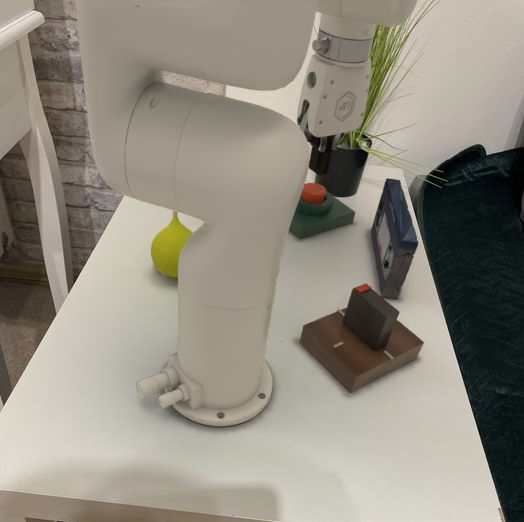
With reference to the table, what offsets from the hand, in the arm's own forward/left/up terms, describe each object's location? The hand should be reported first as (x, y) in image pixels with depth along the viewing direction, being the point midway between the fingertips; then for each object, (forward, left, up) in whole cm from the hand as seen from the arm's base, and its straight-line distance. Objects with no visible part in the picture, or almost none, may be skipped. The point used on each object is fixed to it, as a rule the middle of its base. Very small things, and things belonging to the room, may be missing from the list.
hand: (318, 171), depth 85 cm
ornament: (-28, -4, -9) cm, 30 cm away
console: (-15, -29, -8) cm, 34 cm away
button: (0, 0, -5) cm, 5 cm away
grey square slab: (-15, -29, -5) cm, 33 cm away
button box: (0, 0, -8) cm, 8 cm away
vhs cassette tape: (+2, -16, -9) cm, 19 cm away
